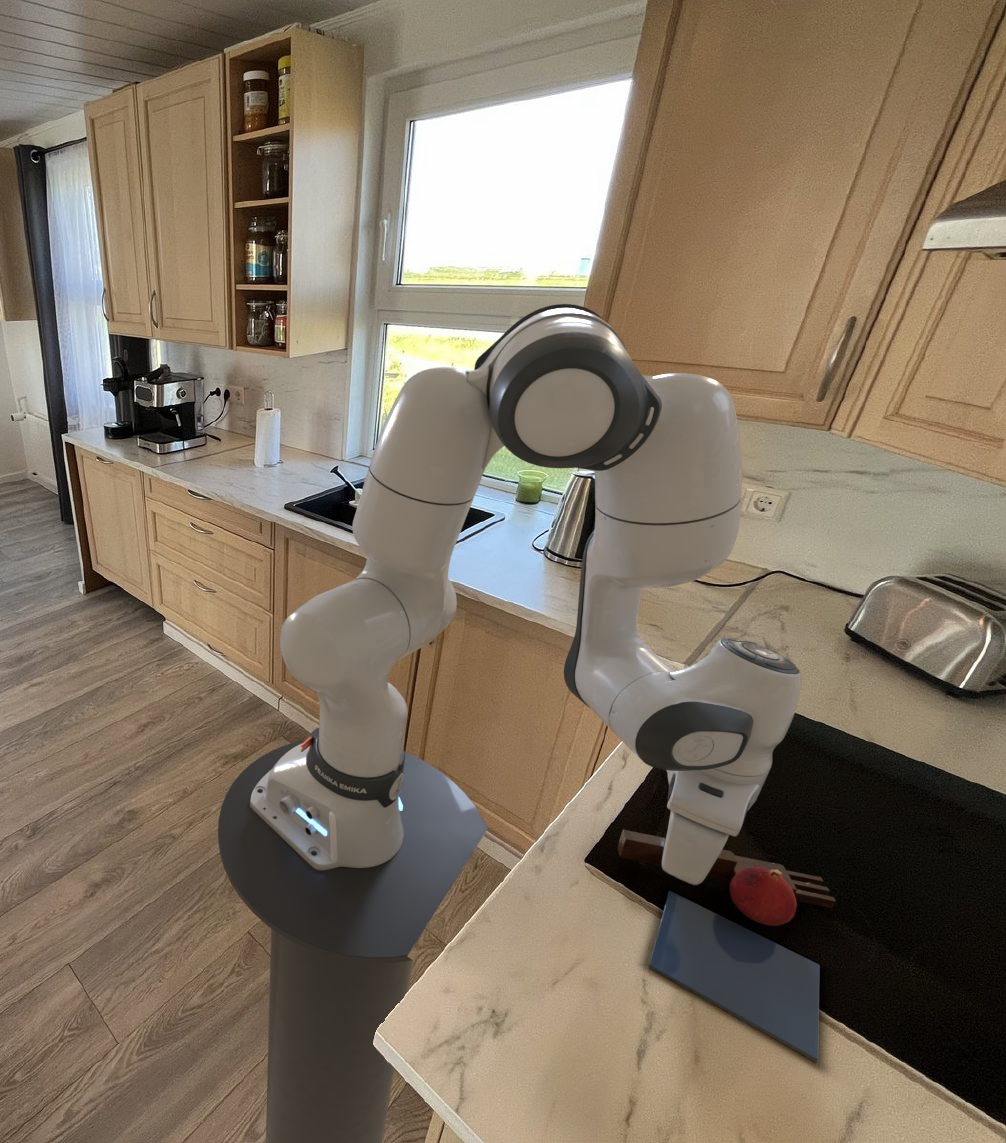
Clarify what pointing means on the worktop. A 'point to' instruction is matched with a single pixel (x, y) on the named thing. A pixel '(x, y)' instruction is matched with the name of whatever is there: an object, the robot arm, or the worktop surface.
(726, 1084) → the worktop surface
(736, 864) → the fork
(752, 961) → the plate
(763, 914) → the red fruit
